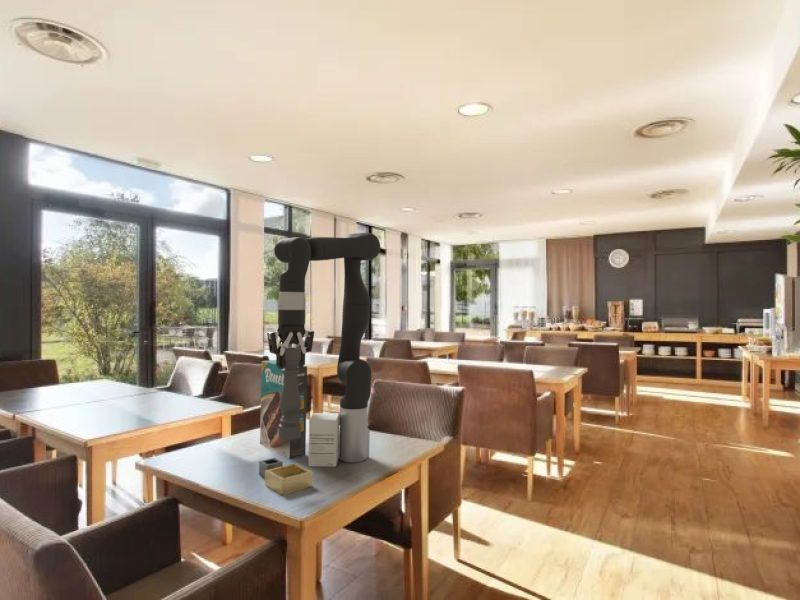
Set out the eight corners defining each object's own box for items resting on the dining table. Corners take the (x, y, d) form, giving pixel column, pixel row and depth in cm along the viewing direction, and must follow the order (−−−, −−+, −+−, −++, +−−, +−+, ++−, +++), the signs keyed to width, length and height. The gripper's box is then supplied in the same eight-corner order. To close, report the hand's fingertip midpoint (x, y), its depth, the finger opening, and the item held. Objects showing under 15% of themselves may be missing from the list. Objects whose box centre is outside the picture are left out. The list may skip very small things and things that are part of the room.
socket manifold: (281, 469, 147) (281, 456, 147) (312, 486, 134) (312, 471, 134) (251, 476, 141) (251, 462, 141) (281, 495, 128) (281, 480, 128)
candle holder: (305, 436, 135) (306, 348, 135) (286, 441, 130) (287, 349, 130) (292, 432, 139) (294, 346, 139) (274, 436, 134) (275, 348, 134)
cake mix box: (260, 443, 173) (261, 361, 174) (275, 440, 177) (276, 359, 178) (289, 458, 157) (291, 367, 157) (305, 455, 161) (307, 366, 161)
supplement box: (312, 457, 159) (313, 412, 159) (339, 457, 159) (340, 412, 159) (307, 466, 150) (308, 419, 150) (336, 467, 150) (336, 419, 150)
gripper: (275, 308, 127) (274, 371, 127) (320, 308, 137) (319, 367, 137) (261, 308, 132) (261, 368, 132) (306, 308, 142) (305, 364, 142)
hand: (290, 367), depth 135 cm, fingers closed on candle holder, 5 cm apart
